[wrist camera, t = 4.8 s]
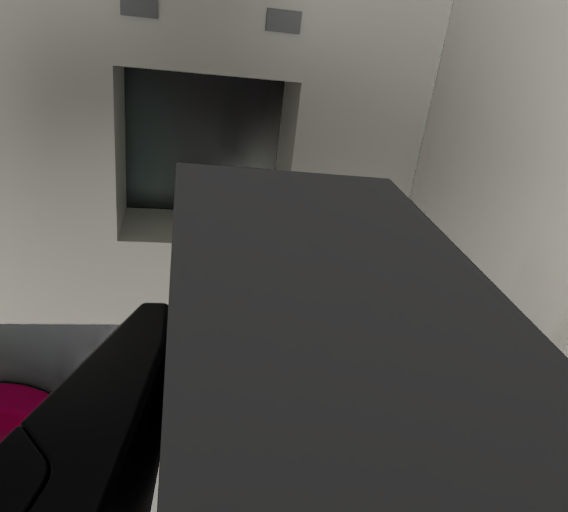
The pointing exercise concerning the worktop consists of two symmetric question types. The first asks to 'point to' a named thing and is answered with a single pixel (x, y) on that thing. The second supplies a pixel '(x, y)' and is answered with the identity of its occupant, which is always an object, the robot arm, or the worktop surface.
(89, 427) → the robot arm
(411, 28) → the socket plate
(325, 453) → the plug
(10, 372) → the worktop surface
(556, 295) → the worktop surface
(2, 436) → the pepper mill
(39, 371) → the worktop surface
